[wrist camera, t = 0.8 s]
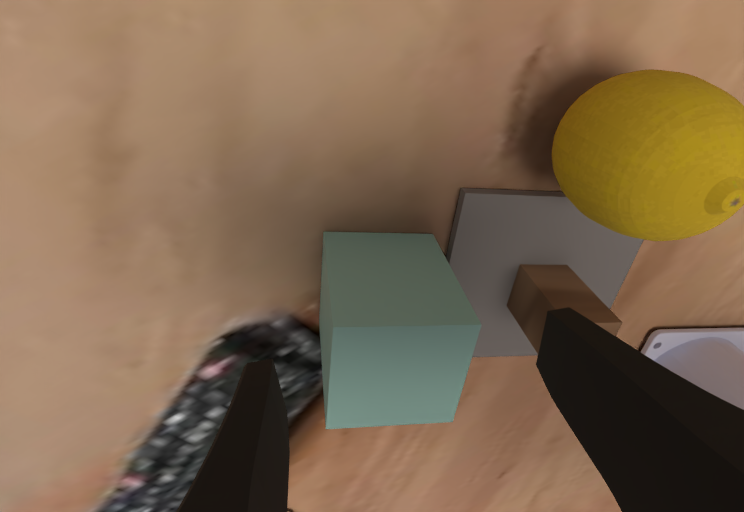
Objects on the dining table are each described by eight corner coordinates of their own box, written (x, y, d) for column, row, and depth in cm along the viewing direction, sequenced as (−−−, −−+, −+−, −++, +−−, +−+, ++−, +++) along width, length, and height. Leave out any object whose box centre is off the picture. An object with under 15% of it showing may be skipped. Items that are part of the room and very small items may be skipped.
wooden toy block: (551, 305, 24) (599, 366, 20) (506, 305, 23) (546, 368, 19) (567, 264, 22) (622, 322, 18) (520, 264, 22) (566, 323, 18)
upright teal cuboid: (416, 318, 23) (452, 421, 18) (319, 319, 23) (325, 429, 17) (432, 234, 21) (481, 324, 15) (323, 231, 20) (333, 327, 14)
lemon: (513, 190, 20) (620, 294, 14) (527, 62, 17) (673, 112, 11) (625, 176, 21) (783, 269, 14) (658, 48, 18) (878, 87, 11)
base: (582, 346, 27) (588, 353, 26) (425, 350, 25) (427, 358, 24) (654, 195, 21) (662, 200, 21) (461, 187, 20) (465, 193, 19)
